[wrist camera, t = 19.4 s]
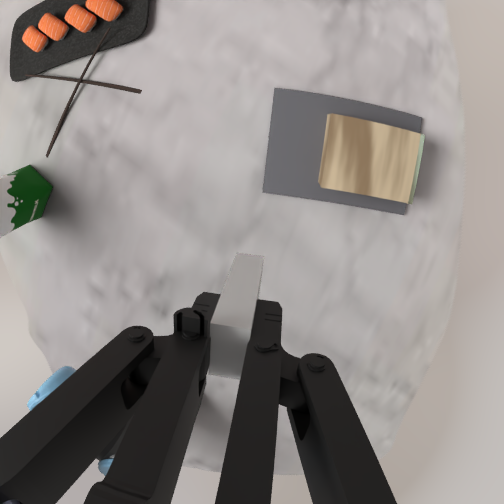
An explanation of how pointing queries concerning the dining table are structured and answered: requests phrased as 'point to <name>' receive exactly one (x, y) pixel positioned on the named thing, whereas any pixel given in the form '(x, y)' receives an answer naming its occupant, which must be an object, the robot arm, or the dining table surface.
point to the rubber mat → (319, 145)
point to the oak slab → (370, 158)
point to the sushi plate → (72, 37)
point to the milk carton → (22, 198)
